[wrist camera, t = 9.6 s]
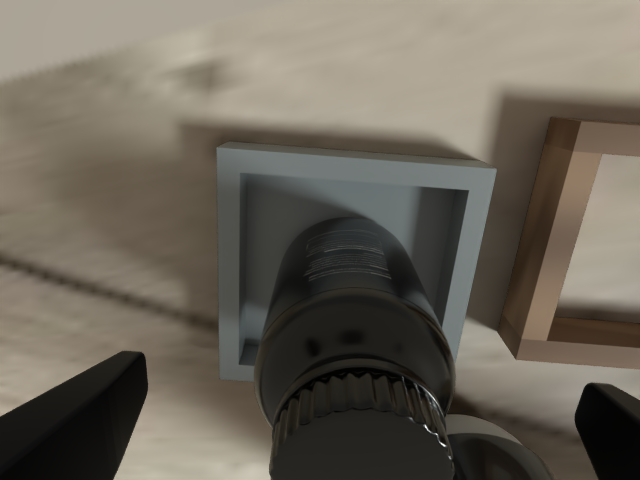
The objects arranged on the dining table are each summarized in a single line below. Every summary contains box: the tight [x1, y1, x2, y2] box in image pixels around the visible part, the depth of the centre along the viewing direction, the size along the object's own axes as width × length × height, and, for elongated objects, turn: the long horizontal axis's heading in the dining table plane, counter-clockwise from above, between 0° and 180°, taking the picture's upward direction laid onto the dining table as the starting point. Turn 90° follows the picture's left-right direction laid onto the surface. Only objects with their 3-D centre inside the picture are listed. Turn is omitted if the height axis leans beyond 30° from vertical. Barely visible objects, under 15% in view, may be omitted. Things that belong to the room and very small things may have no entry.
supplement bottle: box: [254, 217, 456, 480], centre depth 16 cm, size 7×7×12 cm
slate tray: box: [217, 141, 497, 382], centre depth 21 cm, size 12×12×2 cm
